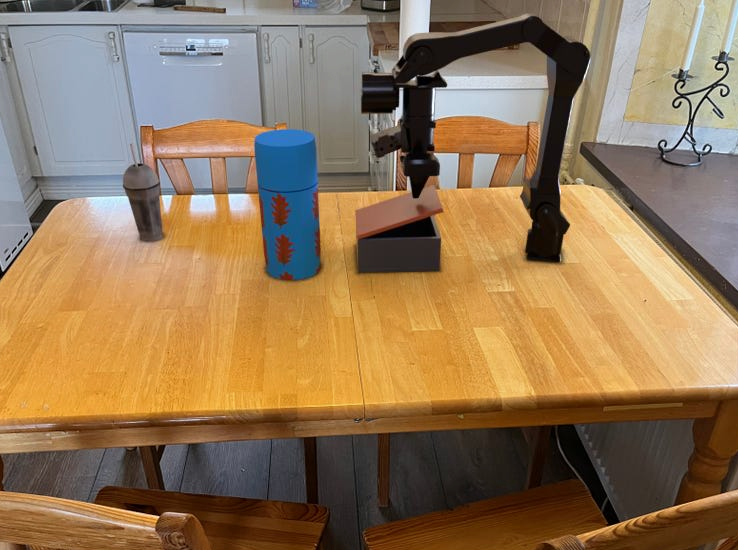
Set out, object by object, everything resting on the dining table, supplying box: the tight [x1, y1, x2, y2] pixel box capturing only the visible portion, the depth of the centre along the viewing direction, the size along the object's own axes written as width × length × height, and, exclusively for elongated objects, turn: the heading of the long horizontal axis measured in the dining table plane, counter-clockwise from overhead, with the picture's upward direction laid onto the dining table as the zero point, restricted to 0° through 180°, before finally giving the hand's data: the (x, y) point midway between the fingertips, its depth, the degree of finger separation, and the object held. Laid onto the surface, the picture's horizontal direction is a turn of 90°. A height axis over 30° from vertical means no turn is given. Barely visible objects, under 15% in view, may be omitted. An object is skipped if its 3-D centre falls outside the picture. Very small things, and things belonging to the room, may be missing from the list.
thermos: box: [253, 128, 322, 281], centre depth 126 cm, size 11×11×25 cm
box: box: [355, 215, 442, 274], centre depth 135 cm, size 16×13×7 cm
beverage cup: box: [122, 142, 163, 242], centre depth 140 cm, size 7×7×20 cm
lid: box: [355, 184, 444, 239], centre depth 131 cm, size 16×13×1 cm
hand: (415, 197), depth 130 cm, fingers closed
